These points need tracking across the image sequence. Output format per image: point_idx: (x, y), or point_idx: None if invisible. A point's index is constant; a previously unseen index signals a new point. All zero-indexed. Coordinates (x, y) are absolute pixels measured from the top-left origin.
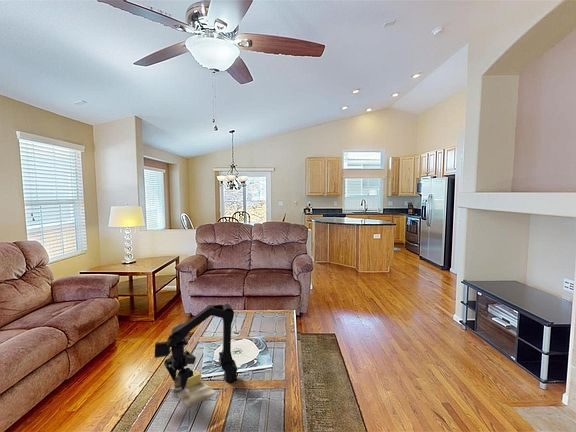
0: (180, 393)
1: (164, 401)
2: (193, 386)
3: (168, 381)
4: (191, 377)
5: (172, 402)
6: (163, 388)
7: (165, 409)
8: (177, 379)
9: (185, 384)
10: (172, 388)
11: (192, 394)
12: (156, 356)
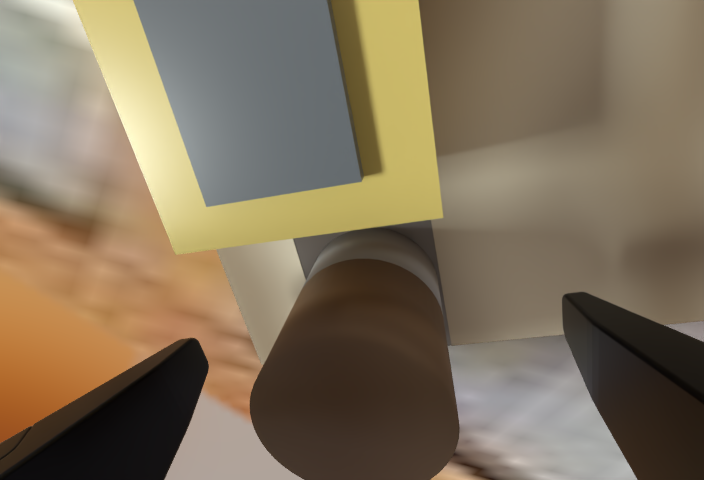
0: (497, 295)
1: (474, 444)
2: (448, 32)
3: (96, 312)
4: (416, 54)
5: (563, 393)
6: (219, 388)
7: (629, 475)
8: (331, 437)
9: (689, 346)
10: None
11: (698, 132)
12: None
